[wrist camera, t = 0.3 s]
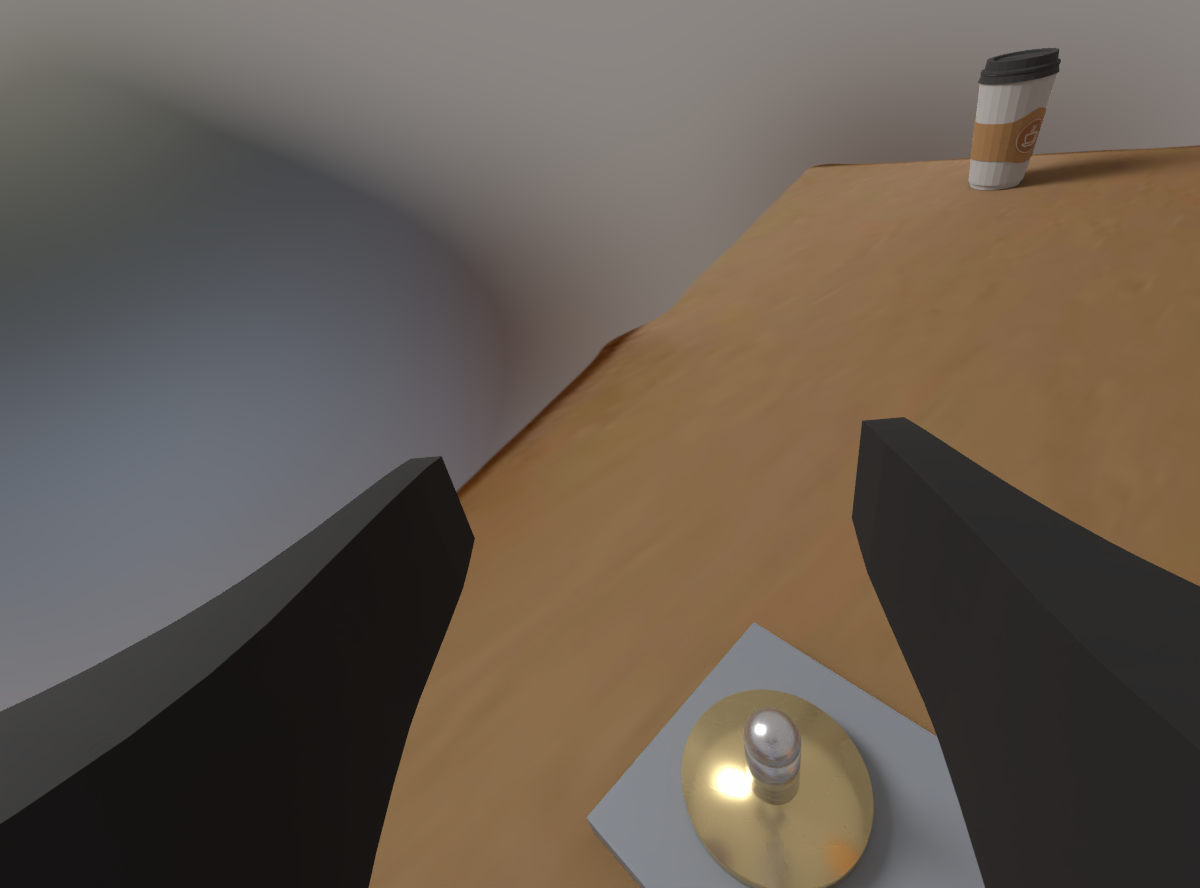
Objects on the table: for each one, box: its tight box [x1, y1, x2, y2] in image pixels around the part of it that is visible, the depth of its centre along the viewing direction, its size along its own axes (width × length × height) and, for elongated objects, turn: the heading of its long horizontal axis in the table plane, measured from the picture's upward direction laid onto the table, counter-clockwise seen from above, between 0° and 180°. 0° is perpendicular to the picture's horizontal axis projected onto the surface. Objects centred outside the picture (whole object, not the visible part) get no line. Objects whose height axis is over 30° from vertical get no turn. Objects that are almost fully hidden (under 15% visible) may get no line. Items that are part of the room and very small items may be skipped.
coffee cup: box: [968, 48, 1061, 190], centre depth 72 cm, size 8×8×15 cm
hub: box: [681, 690, 874, 888], centre depth 21 cm, size 7×7×5 cm
